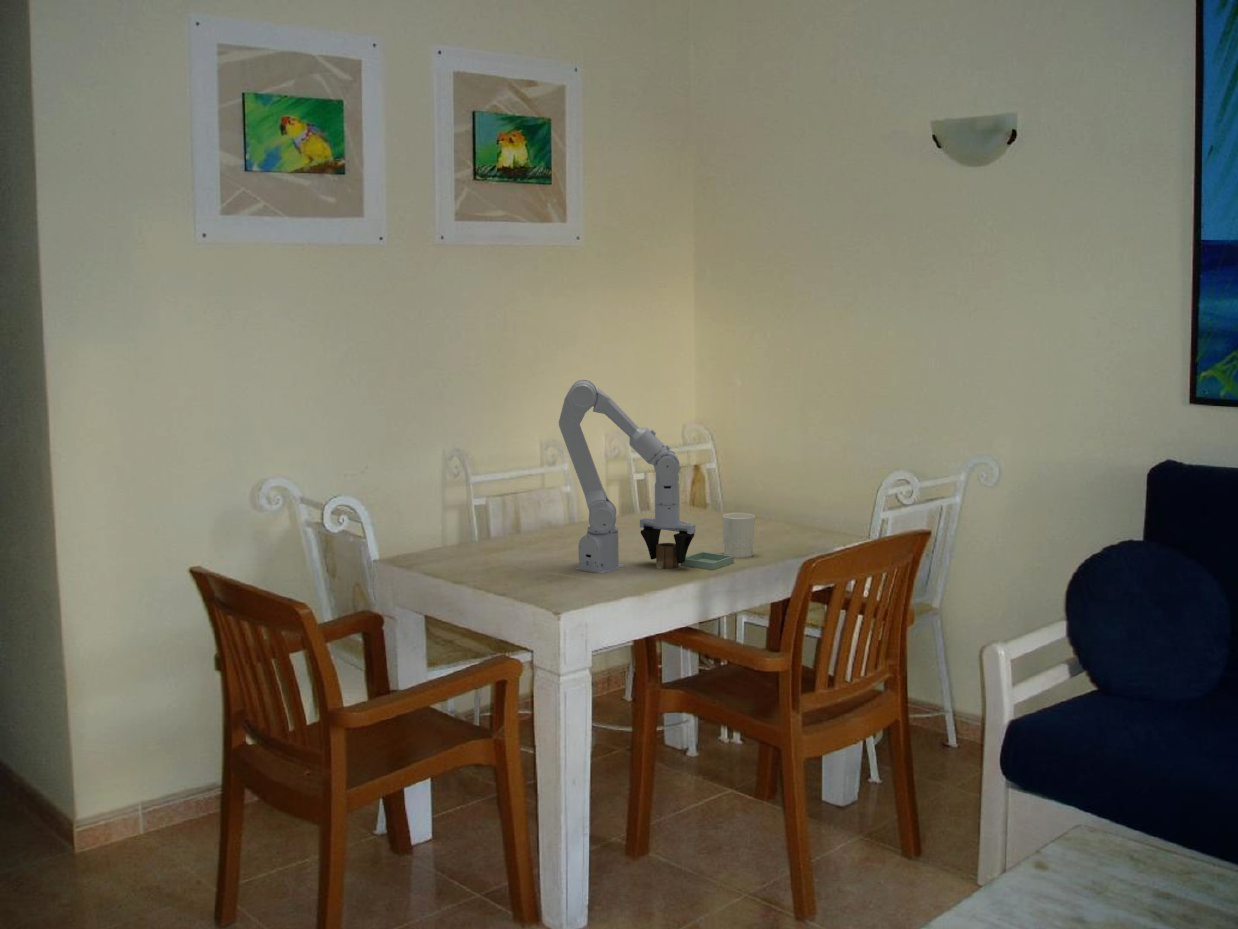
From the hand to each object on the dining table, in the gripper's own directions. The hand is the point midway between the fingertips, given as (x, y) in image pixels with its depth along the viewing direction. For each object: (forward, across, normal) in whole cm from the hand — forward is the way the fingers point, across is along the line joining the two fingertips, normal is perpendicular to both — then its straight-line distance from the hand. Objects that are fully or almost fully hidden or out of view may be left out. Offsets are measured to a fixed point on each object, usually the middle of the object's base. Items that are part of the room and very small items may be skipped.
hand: (667, 560), depth 300 cm
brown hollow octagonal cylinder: (+1, 0, 0) cm, 1 cm away
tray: (+2, -6, -7) cm, 10 cm away
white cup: (+2, -7, -20) cm, 21 cm away
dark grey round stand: (+2, 0, 0) cm, 2 cm away
